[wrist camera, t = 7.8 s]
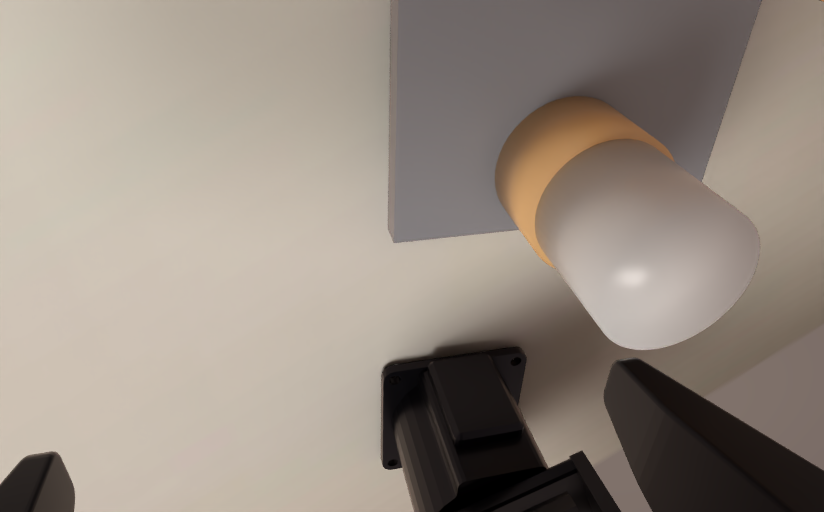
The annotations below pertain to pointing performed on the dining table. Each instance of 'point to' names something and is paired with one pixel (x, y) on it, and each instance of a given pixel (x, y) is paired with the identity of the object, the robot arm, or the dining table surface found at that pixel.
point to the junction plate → (531, 66)
